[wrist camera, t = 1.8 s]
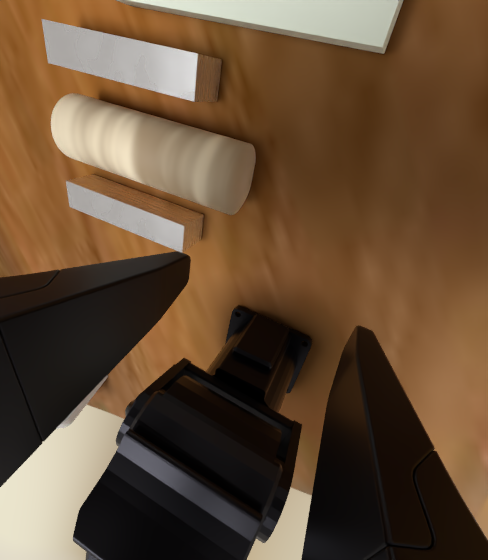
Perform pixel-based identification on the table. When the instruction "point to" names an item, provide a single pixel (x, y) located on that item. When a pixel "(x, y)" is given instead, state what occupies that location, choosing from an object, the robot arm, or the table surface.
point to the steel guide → (150, 75)
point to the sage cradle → (296, 18)
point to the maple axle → (155, 151)
